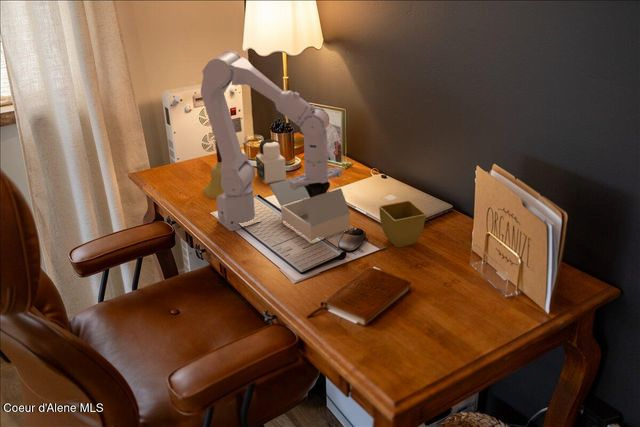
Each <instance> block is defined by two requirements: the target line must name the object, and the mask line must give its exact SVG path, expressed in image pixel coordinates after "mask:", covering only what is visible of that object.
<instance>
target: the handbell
mask: <svg viewBox="0 0 640 427" xmlns="http://www.w3.org/2000/svg"><path fill="white" fill-rule="evenodd" d="M211 130H212V129H211ZM212 134H213V135H214V133H213V130H212ZM214 140H215V150H216V160H217V162H216V164H214V165H213V166H212V167H211V169H210V178H211V179H210V181H209V182H208V183H207V184H206V185H205V186H204V187H203V191H202V193H203V194H204V196H207V197H208V198H212V199H217V197H218V196H219V195H221V194H223V193H224V192H225V191H224V190H223V189H222V186H221V179H222V176H221V172H220V168H221V163H222V158H221V155H220V152H219V149H218V145H217V142H216V139H215V138H214Z"/></svg>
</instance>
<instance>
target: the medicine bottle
mask: <svg viewBox="0 0 640 427" xmlns="http://www.w3.org/2000/svg"><path fill="white" fill-rule="evenodd" d="M259 151H260V152H259V154H256V155H255V163H256V173H257V174H256V176H257V177H258V178H259V179H260V180H261V181H262V182H263V184H265V185H266V184H273V183H277V182H280V181H284V180H287V172H286V171H287V168H286V167H287V166H286V158H285V157H284V156H283V155H281V146H280V141H278V140H275V139H265V140H262V141H260V143H259Z"/></svg>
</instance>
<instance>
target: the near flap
mask: <svg viewBox="0 0 640 427" xmlns="http://www.w3.org/2000/svg"><path fill="white" fill-rule="evenodd" d="M302 201H303V203H304V206H305V209H306V212H307V215H308V217H309V220H310V223H311V226H314V225H317V224H320V223H323V222H326V221H329V220H332V219H335V218H337V217H340V216H343V215H346V214H349V213H350V214H351V211H350V209H349V206H348V203H347V201H346V198H345V194H344V192H343V190H342V188H338V189H334V190H331V191H327V192H326V193H324V194H320V195H317V196H314V197H311V198H309V197H308V198H307V199H306V198H305V199H304V200H303V199H302Z"/></svg>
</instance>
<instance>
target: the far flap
mask: <svg viewBox="0 0 640 427" xmlns="http://www.w3.org/2000/svg"><path fill="white" fill-rule="evenodd" d="M299 176H300V175H298V176H294V177H291V178H286V180H282V181H277V182H272V183H269V187H270V190H271V191H272V193H273V194H274V196H275V198H276V200H277V202H278V204H279V205H280V207H281V206H283V205H286V204H290V203H293V202H296V201H299V200H303V199H306V198H309V197H310V196H309V194H308V192H307V190H306V188H305V187H304V186H303V187H300V188H298V189H297V190H293V189H291V188H290V181H291V180H294V179H296V178H298V177H299Z"/></svg>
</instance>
